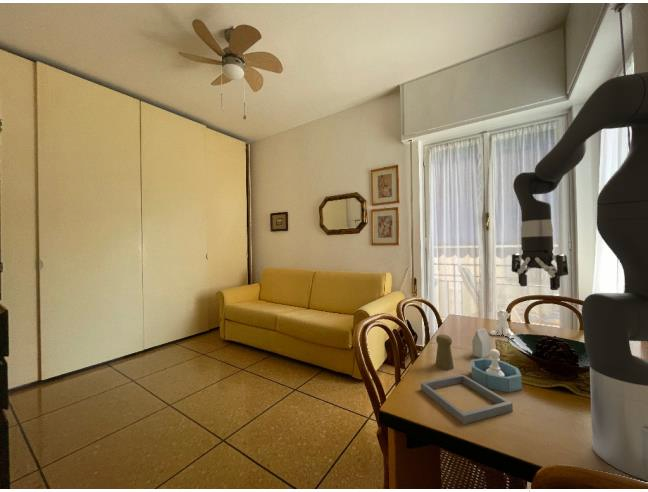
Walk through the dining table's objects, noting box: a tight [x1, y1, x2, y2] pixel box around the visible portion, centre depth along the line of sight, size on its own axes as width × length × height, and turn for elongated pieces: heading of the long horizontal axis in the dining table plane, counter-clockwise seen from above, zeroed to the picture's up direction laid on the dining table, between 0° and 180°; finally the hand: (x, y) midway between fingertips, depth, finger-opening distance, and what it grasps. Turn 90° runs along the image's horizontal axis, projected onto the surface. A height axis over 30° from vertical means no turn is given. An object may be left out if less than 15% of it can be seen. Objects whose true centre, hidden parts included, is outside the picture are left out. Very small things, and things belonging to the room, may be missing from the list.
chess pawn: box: [486, 348, 505, 376], centre depth 80 cm, size 5×5×9 cm
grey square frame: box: [420, 374, 514, 425], centre depth 70 cm, size 16×16×2 cm
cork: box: [435, 334, 454, 371], centre depth 91 cm, size 6×6×11 cm
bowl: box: [470, 357, 523, 393], centre depth 80 cm, size 13×13×4 cm
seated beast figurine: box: [489, 309, 515, 337], centre depth 121 cm, size 10×9×12 cm
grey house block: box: [471, 327, 492, 359], centre depth 99 cm, size 4×7×10 cm, turn 122°
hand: (538, 287), depth 77 cm, fingers open, 8 cm apart
